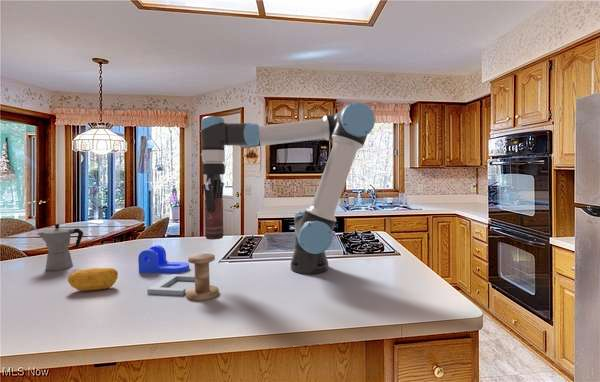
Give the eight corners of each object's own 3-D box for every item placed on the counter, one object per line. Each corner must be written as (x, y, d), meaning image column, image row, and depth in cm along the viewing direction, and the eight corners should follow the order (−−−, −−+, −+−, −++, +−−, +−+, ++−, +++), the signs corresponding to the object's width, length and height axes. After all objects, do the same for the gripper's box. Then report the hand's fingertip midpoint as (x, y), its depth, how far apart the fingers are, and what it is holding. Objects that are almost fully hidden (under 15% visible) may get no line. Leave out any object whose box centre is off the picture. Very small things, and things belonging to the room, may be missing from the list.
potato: (77, 286, 112) (75, 266, 111) (121, 284, 114) (121, 264, 113) (65, 294, 105) (63, 273, 104) (113, 292, 107) (112, 271, 106)
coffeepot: (35, 272, 127) (32, 227, 126) (43, 266, 135) (40, 223, 134) (82, 267, 133) (79, 224, 132) (87, 261, 141) (85, 220, 140)
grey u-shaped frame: (202, 279, 118) (202, 275, 118) (182, 295, 103) (182, 290, 103) (171, 278, 120) (171, 274, 120) (147, 293, 105) (147, 289, 105)
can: (219, 240, 110) (218, 198, 109) (202, 239, 111) (201, 198, 110) (227, 236, 116) (226, 197, 115) (210, 235, 117) (209, 196, 116)
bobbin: (223, 289, 108) (222, 253, 107) (211, 301, 98) (210, 261, 98) (194, 288, 110) (193, 252, 109) (180, 300, 100) (178, 260, 99)
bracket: (138, 272, 127) (137, 250, 126) (150, 266, 135) (149, 245, 134) (183, 273, 125) (183, 250, 125) (192, 267, 134) (191, 245, 133)
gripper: (210, 163, 118) (212, 227, 120) (194, 162, 105) (196, 234, 107) (230, 163, 118) (231, 227, 119) (216, 162, 104) (218, 235, 106)
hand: (215, 231), depth 113 cm, fingers closed
